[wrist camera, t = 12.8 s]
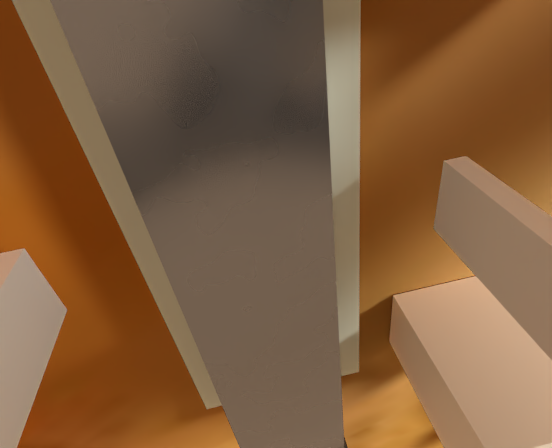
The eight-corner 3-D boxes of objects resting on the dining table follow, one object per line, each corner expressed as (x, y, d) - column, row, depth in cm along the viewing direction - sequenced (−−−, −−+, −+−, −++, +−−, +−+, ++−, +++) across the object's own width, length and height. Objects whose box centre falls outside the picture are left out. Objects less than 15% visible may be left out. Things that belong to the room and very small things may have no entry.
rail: (-61, -447, 6) (-446, -1063, 2) (242, -473, 6) (308, -1052, 3) (241, 400, 21) (251, 488, 18) (324, 380, 22) (350, 462, 18)
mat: (-158, -398, 6) (-198, -438, 6) (347, -443, 7) (362, -485, 6) (206, 396, 22) (206, 409, 21) (354, 359, 22) (358, 371, 22)
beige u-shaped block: (393, 295, 20) (544, 549, 11) (528, 263, 20) (773, 482, 12) (389, 341, 22) (511, 580, 13) (511, 312, 22) (702, 523, 14)
